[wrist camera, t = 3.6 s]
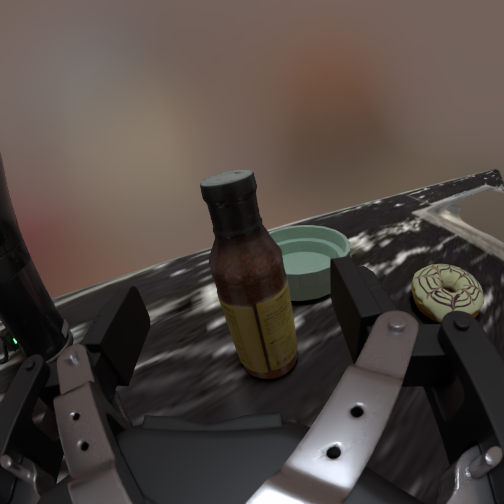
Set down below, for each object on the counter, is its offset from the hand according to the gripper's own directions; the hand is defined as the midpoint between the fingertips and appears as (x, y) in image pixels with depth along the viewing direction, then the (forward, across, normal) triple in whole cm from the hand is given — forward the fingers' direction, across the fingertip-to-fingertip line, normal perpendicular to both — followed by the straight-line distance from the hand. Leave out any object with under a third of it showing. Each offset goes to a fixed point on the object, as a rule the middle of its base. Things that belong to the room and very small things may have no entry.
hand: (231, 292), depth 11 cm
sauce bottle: (+11, 0, +18) cm, 21 cm away
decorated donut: (+14, -24, +18) cm, 33 cm away
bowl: (+27, -6, +17) cm, 33 cm away
